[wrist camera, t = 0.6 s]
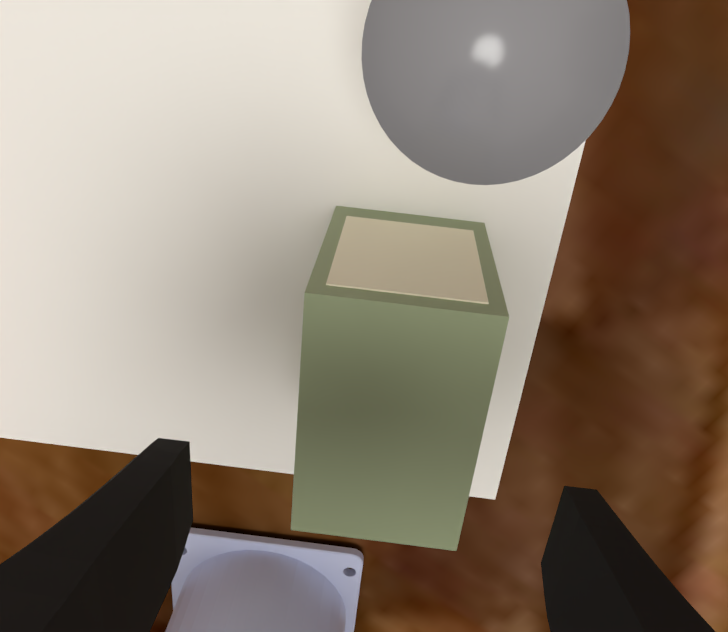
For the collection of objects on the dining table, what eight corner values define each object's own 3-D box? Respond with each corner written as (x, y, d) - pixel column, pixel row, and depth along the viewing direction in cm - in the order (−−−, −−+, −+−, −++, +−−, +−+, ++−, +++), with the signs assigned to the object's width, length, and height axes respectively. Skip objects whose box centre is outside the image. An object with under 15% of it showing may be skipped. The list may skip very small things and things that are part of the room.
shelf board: (492, 484, 25) (501, 540, 22) (-78, 413, 25) (-132, 460, 23) (626, -61, 16) (664, -68, 14) (-233, -152, 17) (-345, -174, 14)
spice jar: (548, 142, 18) (590, 198, 13) (367, 122, 18) (350, 170, 14) (595, -67, 16) (665, -84, 11) (387, -89, 16) (375, -115, 11)
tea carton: (447, 415, 22) (456, 550, 17) (320, 399, 23) (290, 529, 17) (484, 221, 19) (509, 315, 14) (336, 204, 19) (304, 291, 14)
